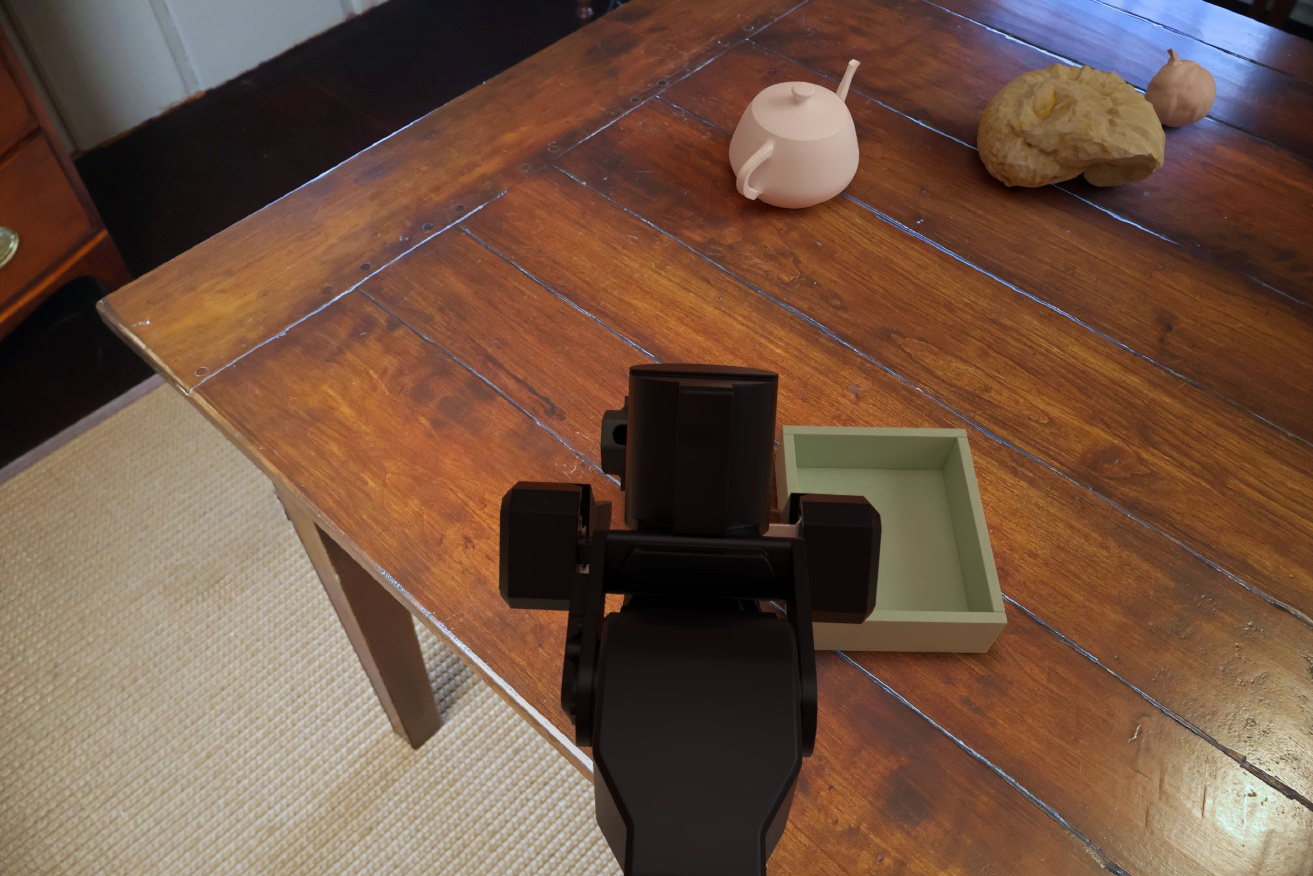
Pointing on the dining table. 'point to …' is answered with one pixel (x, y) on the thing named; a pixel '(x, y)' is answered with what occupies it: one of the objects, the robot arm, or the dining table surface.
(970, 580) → the open box
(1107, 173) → the seashell
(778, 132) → the teapot
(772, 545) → the robot arm
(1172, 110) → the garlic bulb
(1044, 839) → the dining table surface
